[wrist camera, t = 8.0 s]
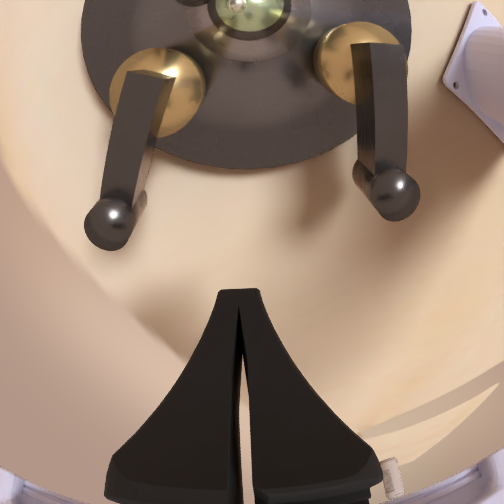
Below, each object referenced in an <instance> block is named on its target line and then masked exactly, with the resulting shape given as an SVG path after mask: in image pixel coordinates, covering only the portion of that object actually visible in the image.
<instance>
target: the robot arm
mask: <svg viewBox="0 0 504 504" xmlns="http://www.w3.org/2000/svg"><path fill="white" fill-rule="evenodd" d="M482 11H483V12H482ZM483 13H484V14H483ZM454 82H455V88H454V86H453V84H454ZM443 83H444V85H445V86H446V87H447V88H448V89H449V90H450V91H452V92H453V93H454V94H455V95H456V96H457V97H458V98H459V99H461V100H462V101H463V102H464V103H465V104H466V105H467V106H468V107H469V108H470V109H471V110H472V111H473V112H474V113H475V114H476V115H477V116H478V117H479V118H480V119H481V120H482V121H483V122H484V123H485V124H486V125H487V126H488V127H489V128H490V129H491V130H492V132H493V133H494V134H495V135H496V136H497V137H498V138H499V139H500V140H501V142H502V143H503V144H504V27H502V26H501V24H500V23H499V22H498V21H497V20H496V19H495V18H494V16H493V15H492V14H491V13H490V12H489V11H488V10H487V9H486V8H485V7H484V6H483V5H482V4H481V3H480V2H478V1H475V2H473V3H472V6H471V9H470V11H469V14H468V17H467V20H466V22H465V25H464V27H463V30H462V33H461V35H460V38H459V40H458V43H457V45H456V47H455V50H454V52H453V55H452V57H451V59H450V62H449V64H448V66H447V68H446V71H445V73H444V75H443ZM242 355H243V359H244V366H245V373H246V380H247V387H248V394H249V411H250V432H251V433H250V435H251V457H252V458H251V459H252V482H253V490H254V495H255V504H369V500H368V499H369V498H371V493H370V487H372V486H374V485H376V484H378V483H379V482H381V481H382V480H383V471H382V468H381V465H380V463H379V460H378V458H377V456H376V454H375V452H374V450H373V449H372V447H371V446H369V445H368V444H367V443H366V442H365V441H363V440H362V439H361V438H360V437H359V436H358V435H357V434H355V433H354V432H353V431H352V430H351V429H350V428H349V427H348V426H347V425H346V424H345V423H344V422H343V421H342V420H341V419H340V418H339V417H338V416H337V415H336V414H335V413H334V412H333V411H332V410H331V409H330V408H329V407H328V405H327V404H326V403H325V402H324V401H323V400H322V399H321V398H320V396H319V395H318V394H317V393H316V392H315V391H314V389H313V388H312V387H311V385H310V384H309V383H308V382H307V380H306V379H305V378H304V376H303V375H302V373H301V372H300V371H299V369H298V368H297V366H296V365H295V363H294V362H293V360H292V359H291V357H290V356H289V354H288V352H287V351H286V349H285V347H284V346H283V344H282V342H281V340H280V339H279V337H278V335H277V333H276V331H275V329H274V327H273V325H272V323H271V321H270V319H269V316H268V314H267V312H266V309H265V307H264V304H263V301H262V298H261V294H260V290H258V289H257V288H247V289H224V290H220V291H219V292H218V295H217V299H216V302H215V305H214V308H213V311H212V314H211V316H210V319H209V321H208V323H207V326H206V328H205V330H204V332H203V335H202V337H201V339H200V341H199V343H198V345H197V347H196V349H195V350H194V352H193V354H192V356H191V358H190V360H189V362H188V363H187V365H186V367H185V368H184V370H183V372H182V373H181V375H180V377H179V378H178V380H177V381H176V383H175V384H174V386H173V387H172V389H171V390H170V391H169V393H168V394H167V396H166V397H165V398H164V400H163V401H162V402H161V404H160V405H159V406H158V407H157V409H156V410H155V411H154V412H153V413H152V415H151V416H150V417H149V418H148V419H147V420H146V422H145V423H144V424H143V425H142V426H141V427H140V429H139V430H138V431H137V432H136V433H135V434H134V435H133V436H132V437H131V438H130V439H129V440H128V441H127V442H126V443H125V444H124V445H123V446H122V447H121V448H120V449H118V451H116V452H115V453H114V454H113V456H112V458H111V461H110V464H109V468H108V471H107V475H106V483H105V491H104V496H105V497H106V498H107V499H109V500H111V501H114V502H117V503H120V504H244V501H243V486H242V470H241V453H240V452H241V451H240V428H239V402H240V386H241V371H242ZM0 504H88V503H84V502H81V501H78V500H75V499H72V498H69V497H66V496H63V495H60V494H58V493H55V492H53V491H50V490H48V489H45V488H43V487H41V486H39V485H36V484H34V483H32V482H29V481H27V480H25V479H23V478H22V477H20V476H18V475H16V474H14V473H12V472H10V471H8V470H6V469H4V468H2V467H1V466H0ZM380 504H504V447H502V448H501V449H499V450H497V451H496V452H494V453H493V454H491V455H489V456H488V457H486V458H484V459H482V460H481V461H479V462H478V463H477V464H474V465H473V466H471V467H469V468H467V469H465V470H463V471H461V472H459V473H457V474H456V475H453V476H451V477H449V478H447V479H445V480H443V481H440V482H438V483H436V484H433V485H431V486H429V487H426V488H424V489H421V490H419V491H416V492H413V493H411V494H408V495H405V496H402V497H400V498H396V499H393V500H390V501H387V502H384V503H380Z"/></svg>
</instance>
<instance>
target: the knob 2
mask: <svg viewBox="0 0 504 504" xmlns="http://www.w3.org/2000/svg"><path fill="white" fill-rule="evenodd" d="M313 67H314V71H315V74H316V76H317V78H318V80H319V82H320V83H321V84H322V86H323V87H324V88H325V89H326V90H327V91H328V92H329V93H331V94H332V95H334V96H335V97H337V98H340V99H342V100H344V101H347V102H349V103H352V104H354V105H356V118H357V145H358V160H357V161H356V163H355V164H354V167H353V172H352V175H353V180H354V182H355V184H356V185H357V186H358V188H359V189H360V190H361V191H362V192H363V194H364V195H365V196H366V197H367V198H368V200H369V201H370V202H371V203H372V205H373V206H374V207H375V208H376V210H377V211H378V212H379V214H380V215H381V216H382V217H383V218H384V219H386V220H388V221H400V220H403V219H405V218H407V217H408V216H410V215H411V214H412V213H413V212H414V210H415V209H416V207H417V205H418V203H419V200H420V189H419V186H418V184H417V183H416V181H415V180H414V179H412V178H411V177H410V176H409V175H408V174H406V159H407V132H408V101H407V75H408V64H407V59H406V55H405V48H404V45H400V43H399V42H398V40H397V39H396V38H395V37H394V36H393V35H392V34H391V33H390V32H388V31H387V30H386V29H384V28H382V27H381V26H378V25H376V24H373V23H369V22H351V23H348V24H345V25H341V26H338V27H335V28H332V29H330V30H328V31H327V32H326V33H324V34H323V35H322V36H321V37H320V39H319V40H318V42H317V43H316V46H315V48H314V52H313Z"/></svg>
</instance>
